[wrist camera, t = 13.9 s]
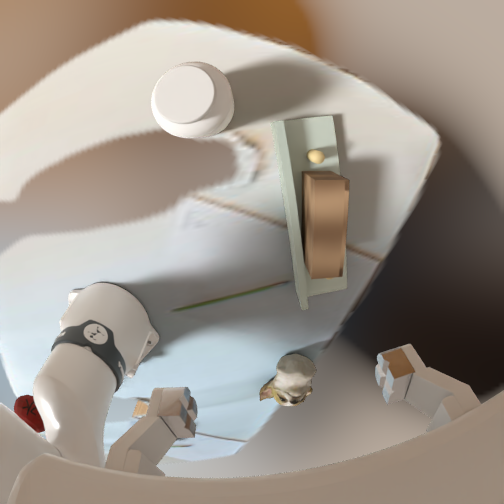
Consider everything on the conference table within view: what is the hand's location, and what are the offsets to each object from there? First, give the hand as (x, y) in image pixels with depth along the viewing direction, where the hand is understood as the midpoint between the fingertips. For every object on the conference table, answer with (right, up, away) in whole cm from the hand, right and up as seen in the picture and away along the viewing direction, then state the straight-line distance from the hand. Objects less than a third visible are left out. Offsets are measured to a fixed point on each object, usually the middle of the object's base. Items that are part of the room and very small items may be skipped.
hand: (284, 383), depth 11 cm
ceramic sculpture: (+6, -18, +43) cm, 47 cm away
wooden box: (+7, +11, +27) cm, 30 cm away
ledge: (+7, +11, +29) cm, 32 cm away
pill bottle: (-8, +24, +23) cm, 34 cm away
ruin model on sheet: (-26, -42, +52) cm, 72 cm away
